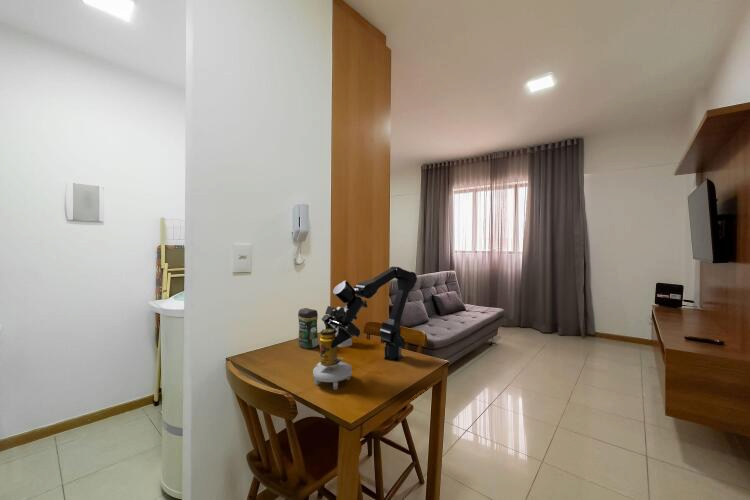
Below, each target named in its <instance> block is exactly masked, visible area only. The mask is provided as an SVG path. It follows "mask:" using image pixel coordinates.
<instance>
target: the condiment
mask: <svg viewBox="0 0 750 500" xmlns="http://www.w3.org/2000/svg"><path fill="white" fill-rule="evenodd" d="M335 330H336V329H335ZM335 330H334V329H326V328H325V329H322V330H320V338H319V354H320V355H319V356H320V361H319V362H318V363H317V364H316V366H318V365H319V366H326V367H335V366H336V365H337V364H338V363H339V362H342V360H343V359H344V357H338V349H337V347H338V346H336V347H334V348H331V345H332V343H333V341H334V339H335V338H336V333H335Z"/></svg>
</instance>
